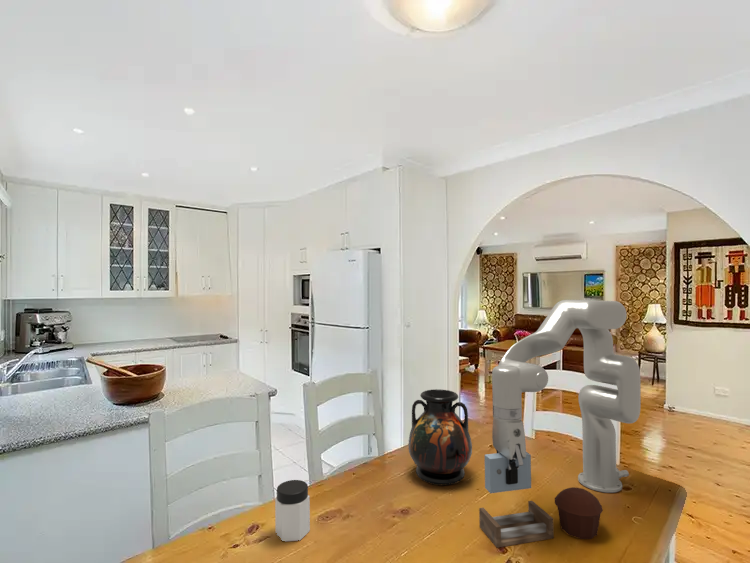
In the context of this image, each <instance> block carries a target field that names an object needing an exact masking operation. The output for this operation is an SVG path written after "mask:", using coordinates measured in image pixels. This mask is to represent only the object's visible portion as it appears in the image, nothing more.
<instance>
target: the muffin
mask: <svg viewBox="0 0 750 563" xmlns="http://www.w3.org/2000/svg"><path fill="white" fill-rule="evenodd" d="M554 504H555V505H556V507H557V511H558V512H557V513H558V518H559V525H560V530H562V531H563V532H565V534H567V535H569V536H571V537H575V538H577V539H579V540H585V539H586V540H592V539H594V538H595V537H597V536H598V531H599V526H600V521H601V520H600V519H601V514H602V513H603V510H604V509H603V506H602V504H601V502H600V501H599V499H598V498H597V497H596V496H595V495H594V494H593V493H591V492H590V491H588V490H587V489H584V488H581V487H568V488H564V489H562V490H561V491H560V492H558V494H557V495H556V496H555V497H554ZM594 536H595V537H594Z"/></svg>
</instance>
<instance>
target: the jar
mask: <svg viewBox="0 0 750 563" xmlns="http://www.w3.org/2000/svg"><path fill="white" fill-rule="evenodd" d="M308 487H309V485H308V483H307V482H306V481H303V480H301V479H293V480H292V479H291V480H287V481H284V482H281V483H280V484H279V485H278V486H277V487H276V497H275V498H274V500H275V501H274V502H275V506H274V507H275V508H274V510H275V516H274V517H275V520H274V521H275V523H274V524H275V526H274V527H275V534H276V533H277V534H276V536H277V537H278V536H279V537H280V538H281V539H280V538H279V537H278V538H279V539H280V540H282V541H285V542H298V540H299V541H301V540H302V539H303V538H304V537H305V536H306V535H307V534H308V533H309V532H310V531H311V522H310V520H311V518H310V517H311V513H310V512H311V511H310V510H311V507H310V506H311V504H310V499H311V497H310V494H309V489H308ZM282 541H281V542H282Z"/></svg>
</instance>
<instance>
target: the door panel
mask: <svg viewBox="0 0 750 563" xmlns="http://www.w3.org/2000/svg"><path fill="white" fill-rule="evenodd" d="M513 456H514V455H513ZM531 460H532V455H531V454H530V453H529V452H528V451H526V458H524V459H523V458H522V461H523V466H519V469H518V483H517V484H510V485H508V484H506V469H507V457H505V456H504V455H503V454H501V453H497V452H496V453H489V454H487V453H486V454H484V489H485V490H486V491H488V493H489V494H497V493H505V492H512V491H520V490H521V491H522V490H527V489H532V464H531V463H532V461H531ZM512 462H514V460H511V463H512Z"/></svg>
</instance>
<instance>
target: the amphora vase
mask: <svg viewBox="0 0 750 563" xmlns="http://www.w3.org/2000/svg"><path fill="white" fill-rule="evenodd" d="M419 395H420V398H421V399H422V400H421V399H416V400H415V401H414V402H413V404H412V405H411V406H412V407H411V429H410V432H409V437H408V443H407V444H408V453H409V456H410V458H411V460H412V461H413V462H414V464H415V465H416V469H415V474H416V475H417V477H418V478H420V480H422V481H424V482H426V483H429V484H431V485H437V486H450V485H455V484H457V483H459V482H461V481H462V480H463V479H464V478H465V475H466V474H465V469H464V468H465V467H466V466H467V465H468V464H469V462H470V459H471V457H472V453H473V442H472V438H471V435H470V432H469V413H468V407H467V405H466V404H465V403H463V402H461V401H459V402H455V401H457V400H458V398H459V395H458V393H456V392H455V391H452V390H449V389H437V388H436V389H427V390H424V391H422V392H421V393H420V394H419ZM424 401H425V402H424ZM453 402H455V403H454V404H453ZM418 405H421V406H422V407H423V412H422V413H421V414H420V415H419V416H418V418H417V417H416V416H417V415H416V409H417V406H418ZM458 407H461V408H462V410H463V413H464V419H463V420H464V421H462V419H461V418H460V416H459V415H458V414H457V413H456V408H458Z"/></svg>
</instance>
